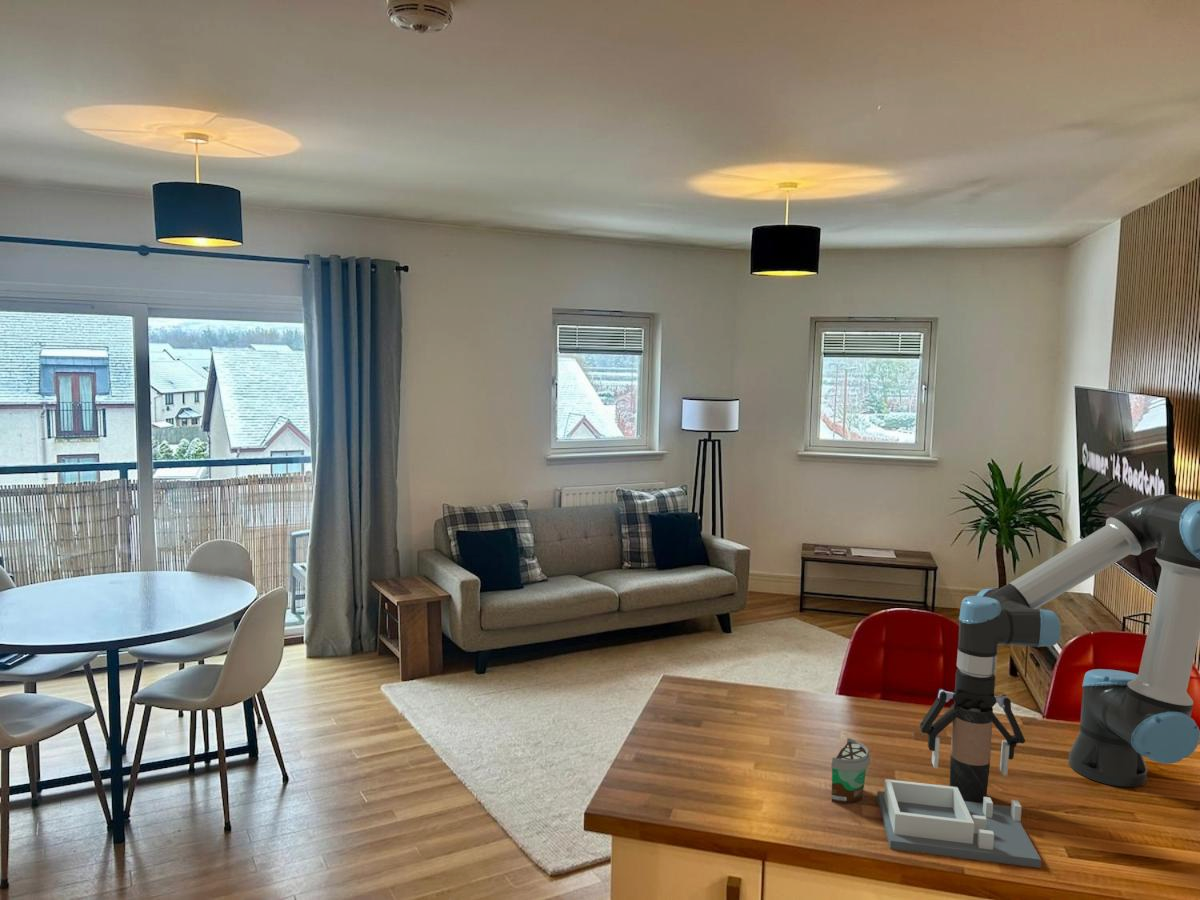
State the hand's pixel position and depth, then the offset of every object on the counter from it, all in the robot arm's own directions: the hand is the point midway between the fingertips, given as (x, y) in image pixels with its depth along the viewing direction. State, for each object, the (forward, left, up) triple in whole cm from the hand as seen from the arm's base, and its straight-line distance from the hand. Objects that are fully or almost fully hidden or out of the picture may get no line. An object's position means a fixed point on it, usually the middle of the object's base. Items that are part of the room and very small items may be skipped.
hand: (968, 769), depth 174 cm
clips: (-2, +16, -4) cm, 17 cm away
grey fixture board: (+6, +15, -6) cm, 17 cm away
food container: (+24, +6, -6) cm, 25 cm away
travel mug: (0, 0, -6) cm, 6 cm away
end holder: (+11, +15, -4) cm, 19 cm away
